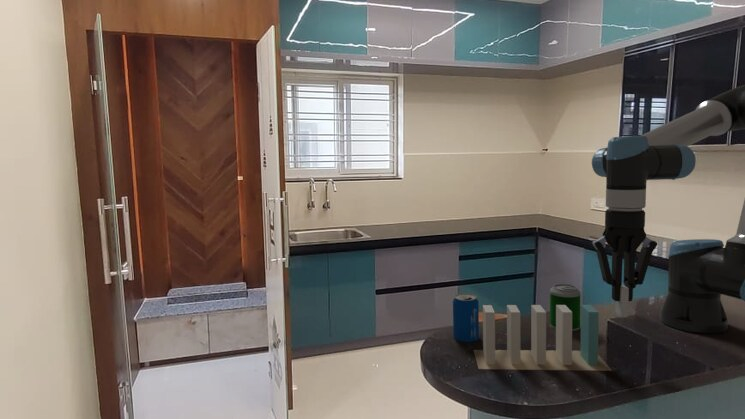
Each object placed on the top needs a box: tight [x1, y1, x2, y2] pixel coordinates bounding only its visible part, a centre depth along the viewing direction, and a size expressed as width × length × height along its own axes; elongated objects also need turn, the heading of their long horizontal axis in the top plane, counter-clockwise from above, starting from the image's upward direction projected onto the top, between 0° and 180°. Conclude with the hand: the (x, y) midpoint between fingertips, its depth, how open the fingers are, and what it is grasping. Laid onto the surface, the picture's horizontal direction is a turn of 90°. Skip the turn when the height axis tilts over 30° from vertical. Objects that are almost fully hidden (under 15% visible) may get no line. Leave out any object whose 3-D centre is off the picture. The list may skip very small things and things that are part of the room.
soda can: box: [549, 283, 581, 332], centre depth 122 cm, size 8×8×12 cm
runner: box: [473, 349, 613, 372], centre depth 103 cm, size 28×10×1 cm, turn 84°
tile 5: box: [482, 304, 496, 364], centre depth 104 cm, size 2×5×12 cm, turn 174°
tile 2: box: [555, 305, 573, 365], centre depth 102 cm, size 2×5×12 cm, turn 174°
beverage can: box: [452, 292, 480, 343], centre depth 117 cm, size 6×6×12 cm
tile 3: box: [530, 304, 547, 365], centre depth 103 cm, size 2×5×12 cm, turn 174°
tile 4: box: [506, 304, 521, 364], centre depth 103 cm, size 2×5×12 cm, turn 174°
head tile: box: [579, 304, 600, 365], centre depth 101 cm, size 2×5×12 cm, turn 174°
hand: (621, 315), depth 100 cm, fingers closed
